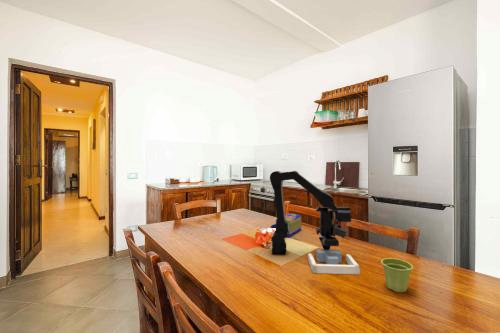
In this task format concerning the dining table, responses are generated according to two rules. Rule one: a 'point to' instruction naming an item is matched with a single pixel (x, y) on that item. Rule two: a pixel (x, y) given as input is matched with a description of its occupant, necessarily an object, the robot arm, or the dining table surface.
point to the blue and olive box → (292, 223)
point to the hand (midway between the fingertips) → (326, 254)
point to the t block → (329, 256)
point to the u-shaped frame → (335, 266)
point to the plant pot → (396, 274)
